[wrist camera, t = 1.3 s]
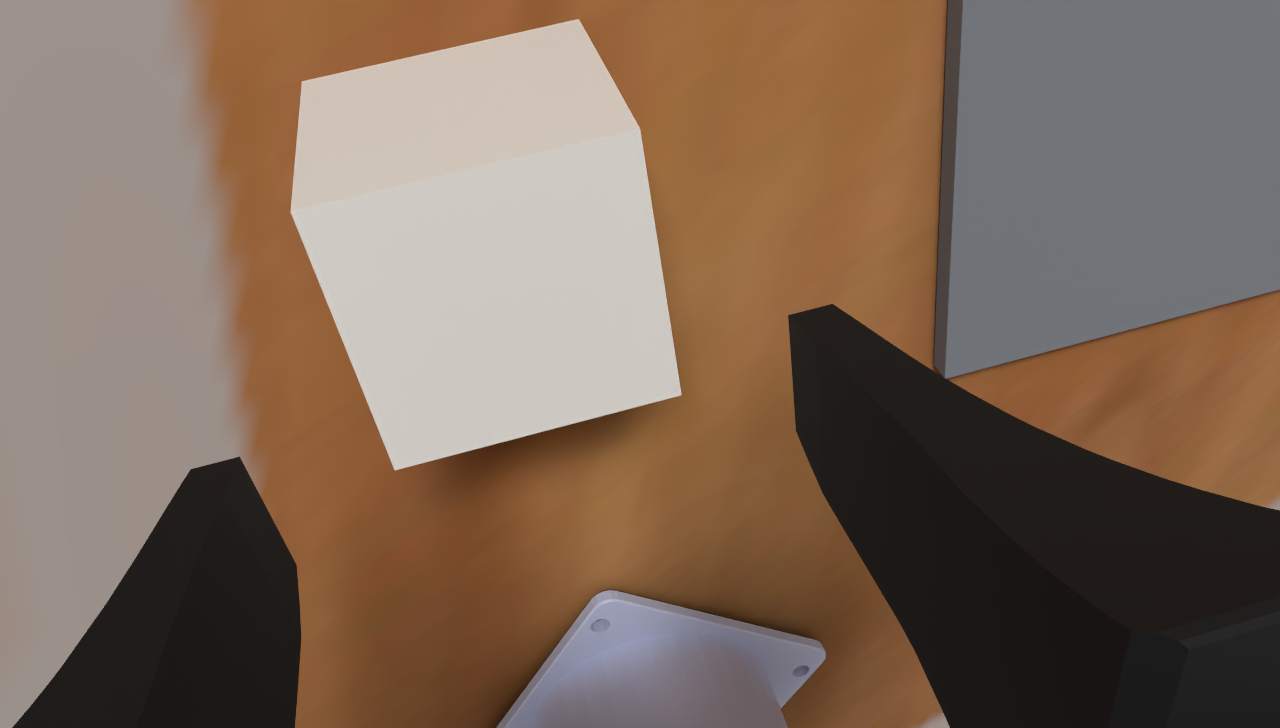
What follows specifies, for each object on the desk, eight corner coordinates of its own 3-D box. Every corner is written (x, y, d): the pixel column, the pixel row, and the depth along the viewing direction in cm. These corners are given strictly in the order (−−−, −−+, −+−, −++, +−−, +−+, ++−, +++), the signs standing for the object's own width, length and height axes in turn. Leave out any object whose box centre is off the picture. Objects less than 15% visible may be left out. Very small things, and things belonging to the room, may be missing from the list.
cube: (620, 251, 22) (681, 395, 18) (385, 309, 21) (395, 470, 17) (578, 18, 19) (640, 128, 15) (302, 79, 18) (290, 211, 14)
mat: (1337, 257, 27) (1355, 269, 26) (933, 364, 26) (944, 379, 25) (1492, -228, 20) (1520, -224, 19) (952, -109, 19) (967, -101, 18)
